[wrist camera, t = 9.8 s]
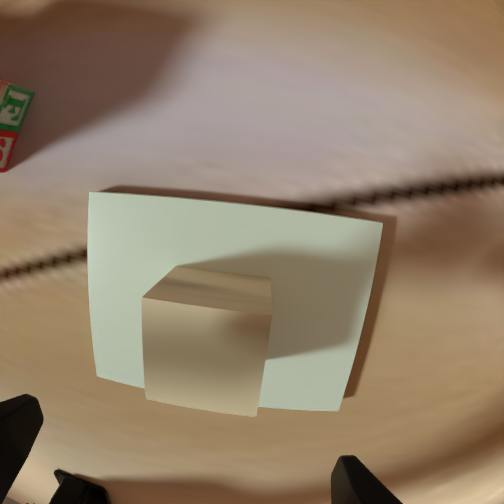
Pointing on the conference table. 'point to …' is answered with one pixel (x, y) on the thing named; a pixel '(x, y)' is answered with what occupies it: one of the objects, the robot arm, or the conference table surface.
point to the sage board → (239, 262)
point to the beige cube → (206, 339)
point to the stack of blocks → (11, 117)
